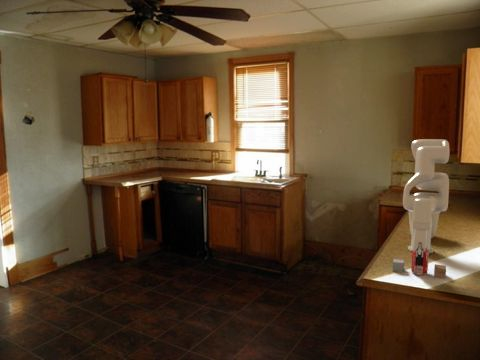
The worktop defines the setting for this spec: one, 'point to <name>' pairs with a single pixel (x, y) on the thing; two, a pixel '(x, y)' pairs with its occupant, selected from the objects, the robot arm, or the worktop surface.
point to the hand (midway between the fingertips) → (419, 262)
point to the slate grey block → (398, 265)
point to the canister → (434, 221)
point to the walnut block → (440, 271)
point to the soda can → (416, 268)
